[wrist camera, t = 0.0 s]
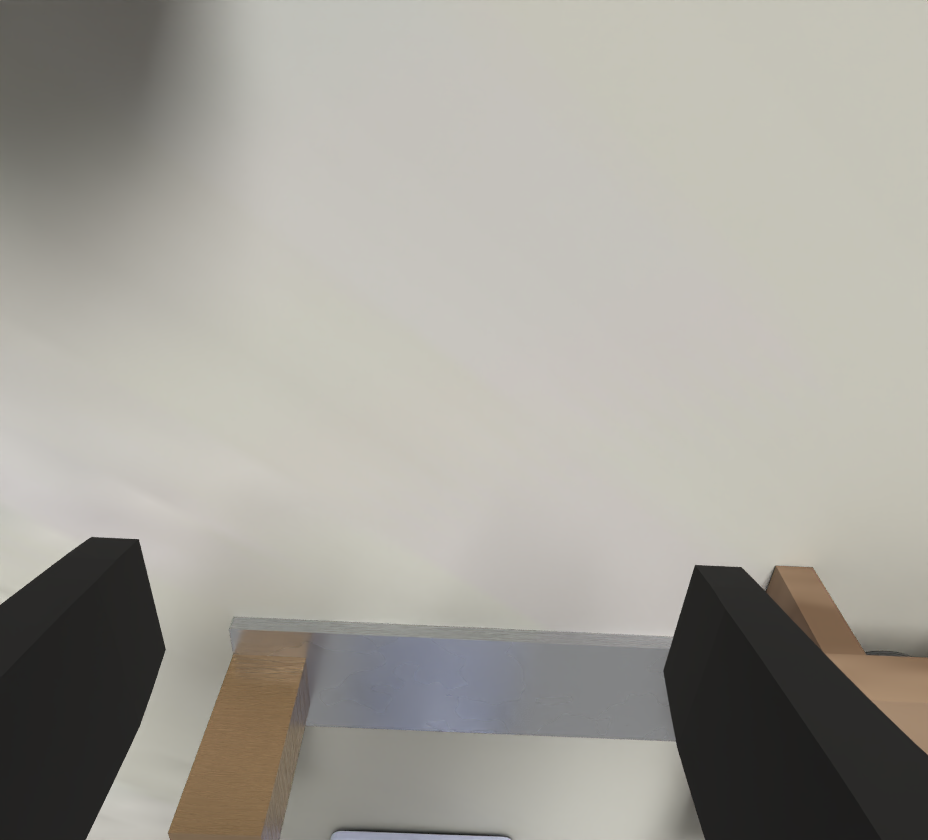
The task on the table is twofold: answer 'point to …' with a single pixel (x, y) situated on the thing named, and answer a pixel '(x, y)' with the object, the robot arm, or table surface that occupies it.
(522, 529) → the table surface
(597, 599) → the table surface
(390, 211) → the table surface
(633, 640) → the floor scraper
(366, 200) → the table surface
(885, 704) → the walnut bench
